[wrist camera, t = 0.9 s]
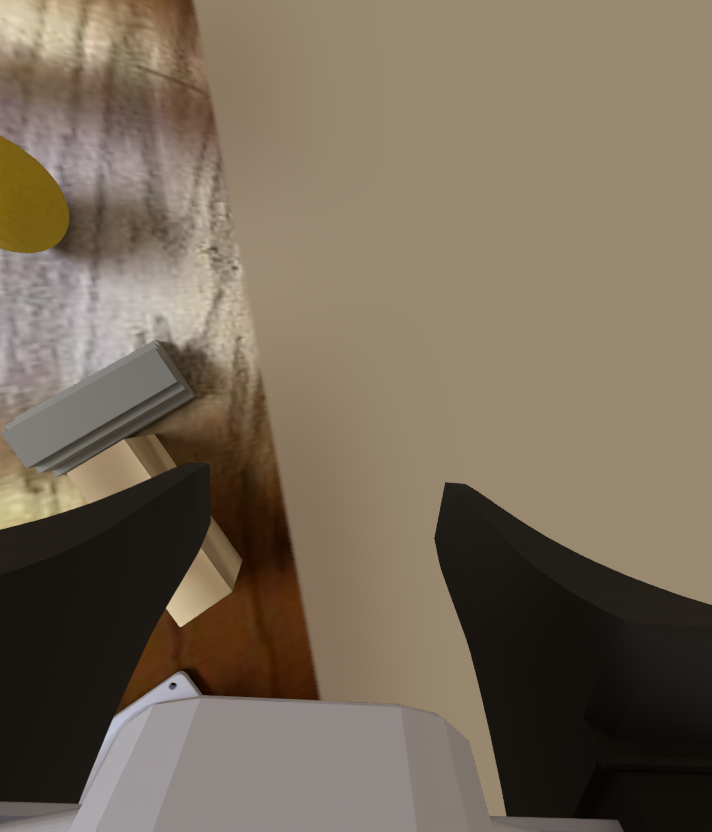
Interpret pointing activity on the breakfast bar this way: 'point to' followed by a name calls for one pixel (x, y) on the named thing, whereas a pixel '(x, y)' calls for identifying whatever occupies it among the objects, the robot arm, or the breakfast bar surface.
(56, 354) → the breakfast bar surface
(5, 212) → the lemon
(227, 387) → the breakfast bar surface
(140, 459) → the bar
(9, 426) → the stepped block
